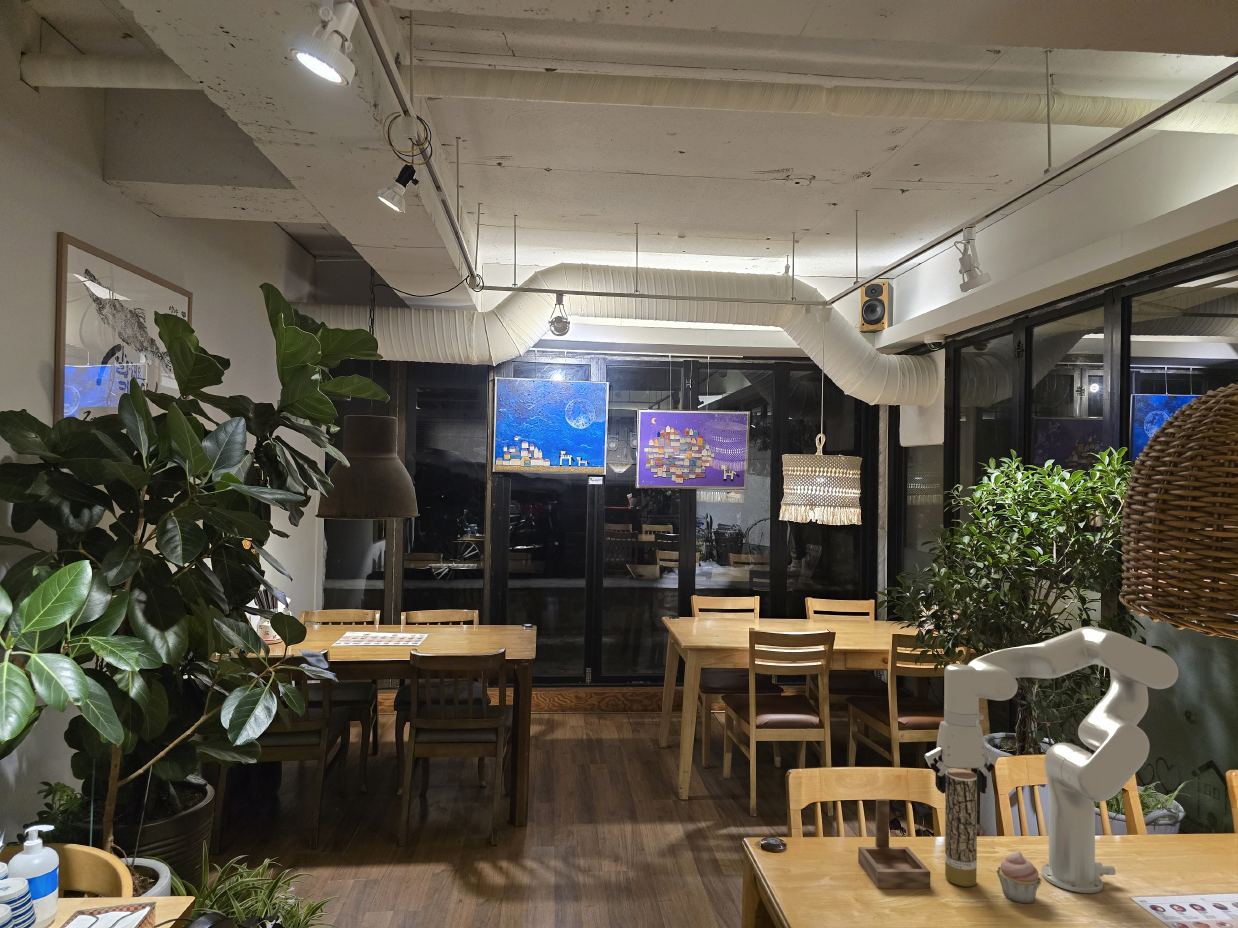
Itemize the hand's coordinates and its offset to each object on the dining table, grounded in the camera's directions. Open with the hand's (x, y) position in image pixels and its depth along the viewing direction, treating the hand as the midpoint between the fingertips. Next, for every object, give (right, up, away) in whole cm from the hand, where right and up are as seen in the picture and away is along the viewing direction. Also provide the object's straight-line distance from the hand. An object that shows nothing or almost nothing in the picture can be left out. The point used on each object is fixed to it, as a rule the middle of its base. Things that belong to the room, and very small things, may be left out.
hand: (961, 791), depth 181 cm
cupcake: (+10, -21, -7) cm, 24 cm away
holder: (-16, -21, +1) cm, 26 cm away
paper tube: (0, -21, -1) cm, 21 cm away
